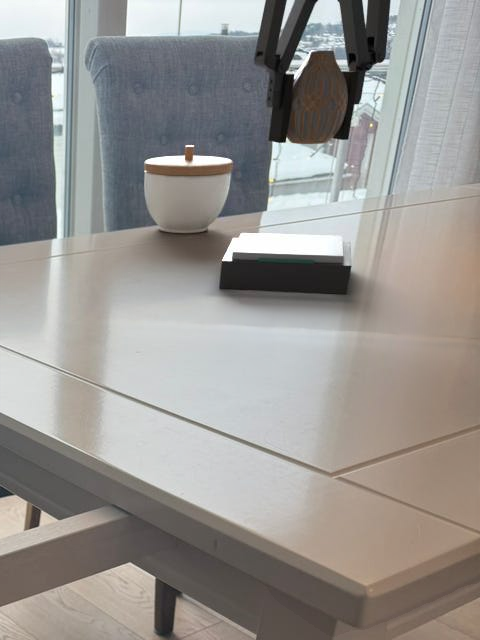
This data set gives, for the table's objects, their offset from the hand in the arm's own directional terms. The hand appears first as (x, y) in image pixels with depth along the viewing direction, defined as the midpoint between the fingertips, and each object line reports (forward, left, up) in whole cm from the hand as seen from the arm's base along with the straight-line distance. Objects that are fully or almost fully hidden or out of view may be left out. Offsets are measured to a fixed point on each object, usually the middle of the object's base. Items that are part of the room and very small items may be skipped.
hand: (308, 139), depth 104 cm
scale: (0, +2, -14) cm, 14 cm away
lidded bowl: (+16, -28, -15) cm, 36 cm away
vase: (0, 0, 0) cm, 1 cm away
